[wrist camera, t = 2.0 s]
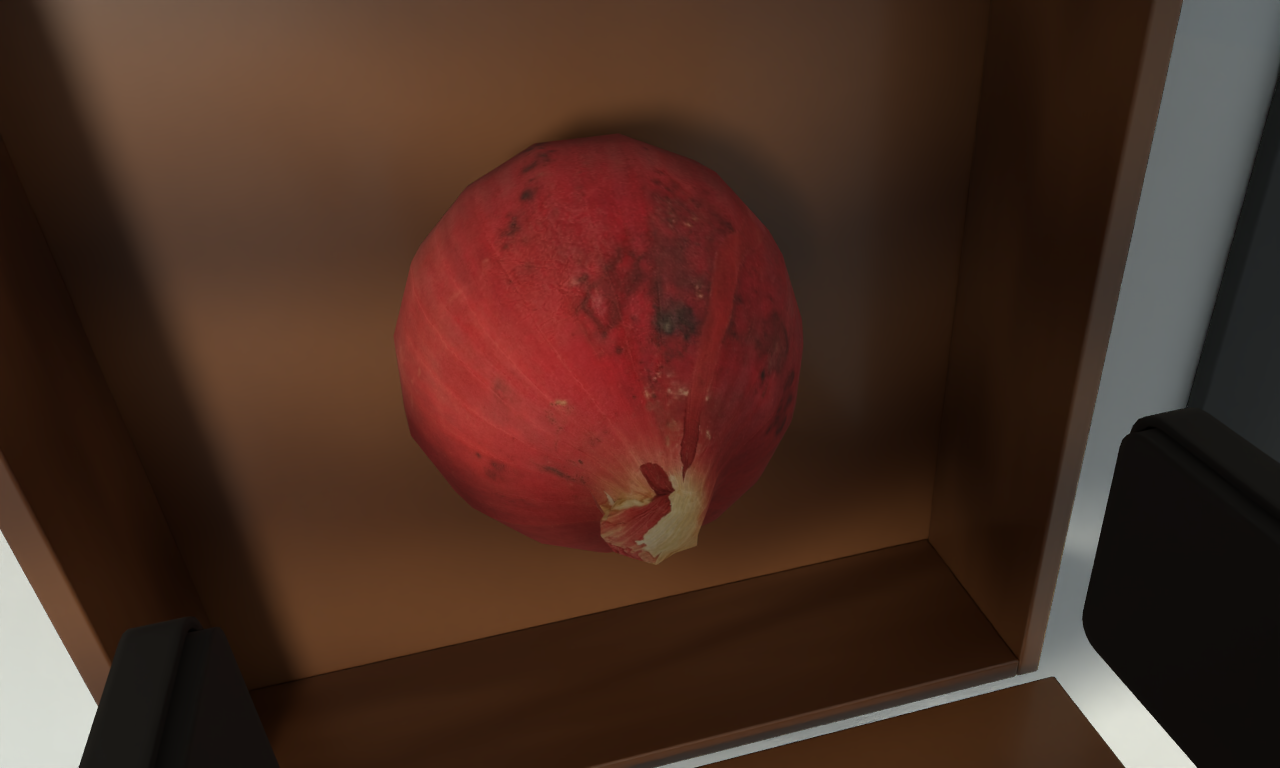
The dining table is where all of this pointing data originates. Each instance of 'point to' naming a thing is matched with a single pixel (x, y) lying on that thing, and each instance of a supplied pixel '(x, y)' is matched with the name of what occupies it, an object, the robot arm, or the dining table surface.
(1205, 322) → the dining table surface
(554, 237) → the pomegranate
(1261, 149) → the mat
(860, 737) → the lid
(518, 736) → the chest
